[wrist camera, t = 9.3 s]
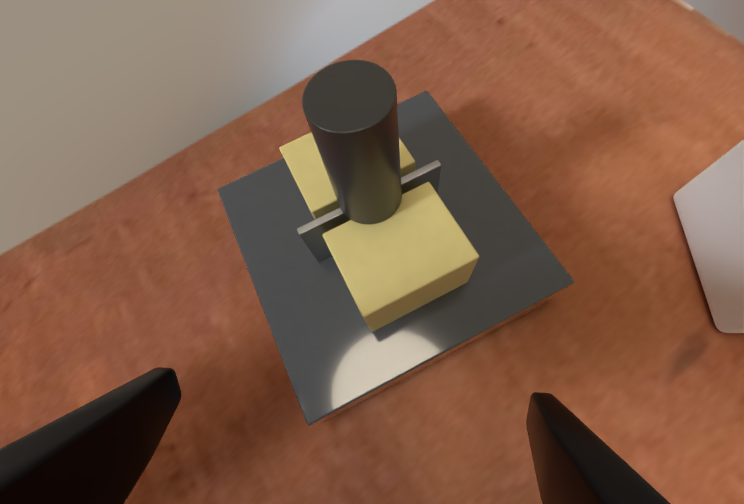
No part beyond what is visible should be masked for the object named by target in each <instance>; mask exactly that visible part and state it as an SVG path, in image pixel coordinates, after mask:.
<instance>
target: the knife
mask: <svg viewBox="0 0 744 504" xmlns="http://www.w3.org/2000/svg"><path fill="white" fill-rule="evenodd" d="M302 107H303V111H304V114H305V116H306V119H307V122H308V124H309V127H310V130H311V132H312V135H313V137H314V140H315V143H316V145H317V148H318V151H319V153H320V156H321V159H322V161H323V164H324V166H325V169H326V172H327V174H328V177H329V180H330V182H331V185H332V188H333V190H334V193H335V195H336V198H337V201H338V203H339V206H340V208H338V209H336V210H334V211H332V212H330V213H328V214H326V215H324V216H322V217H320V218H317V219H315V220H313V221H311V222H309V223H307V224H305V225H303V226H301V227H299V228H297V231H298V233H299V235H300V237H301V238H302V240H303V241H304V242H305V244H306V245H307V247H308V248H309V250H310V251H311V253H312V254H313V255H314V257H315V258H316V260H317V261H318V262H320V261H322V260H324V259H326V258H328V257H330V256H332V254H331V252H330V250H329V248H328V246H327V244H326V242H325V240H324V238H323V234H324V233H325V232H327V231H329V230H331V229H333V228H335V227H338V226H340V225H342V224H344V223H346V222H348V221H350V220H352V221H354V222H357V223H360V224H376V223H380V222H382V221H385V220H386V219H388V218H389V217H391V216H392V215H393V214H394V213H395V212H396V210H397V209H398V207H399V205H400V203H401V199H402V194H404V193H406V192H408V191H410V190H412V189H414V188H416V187H419V186H421V185H423V184H425V183H427V182H429V183H430V184H431V185H432V187H433V188H434V190H435V191H436V193H437V194H438V188H439V180H440V172H441V164H440V162H439V161H438V160H436V161H434V162H432V163H430V164H428V165H426V166H424V167H422V168H420V169H418V170H416V171H413V172H411V173H409V174H407V175H405V176H403V177H401V168H400V149H399V130H398V111H397V92H396V85H395V83H394V80H393V79H392V77H391V75H390V74H389V73H388V72H387V71H386V70H385V69H384V68H382V67H380V66H379V65H377V64H375V63H372V62H368V61H364V60H346V61H341V62H337V63H334V64H332V65H329V66H327V67H325V68H324V69H322V70H321V71H319V72H318V73H317V74H315V75H314V76H313V77H312V78H311V80H310V81H309V82H308V84H307V86H306V88H305V90H304V93H303V97H302Z"/></svg>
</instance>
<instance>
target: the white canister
mask: <svg viewBox="0 0 744 504" xmlns="http://www.w3.org/2000/svg"><path fill="white" fill-rule="evenodd" d="M673 200H674V203H675V206H676V209H677V212H678V215H679V218H680V221H681V224H682V227H683V230H684V233H685V236H686V239H687V242H688V245H689V248H690V251H691V254H692V257H693V260H694V263H695V266H696V269H697V272H698V275H699V278H700V281H701V284H702V287H703V290H704V293H705V296H706V299H707V302H708V305H709V308H710V311H711V314H712V317H713V320H714V323H715V326H716V327H717V329H718V330H720V331H721V332H725V333H744V139H743V140H742V141H741V142H739V143H738V144H737V145H736V146H734V147H733V148H732V149H731V150H729V151H728V152H727V153H725V154H724V155H723V156H722V157H720V158H719V159H718V160H716V161H715V162H714V163H713V164H711V165H710V166H709V167H708V168H706V169H705V170H704V171H702V172H701V173H700V174H699V175H697V176H696V177H695V178H693V179H692V180H691V181H690V182H688V183H687V184H686V185H684V186H683V187H682V188H681V189H679V190H678V191H677V192H676V193H675V194H674V196H673Z"/></svg>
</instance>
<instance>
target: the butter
mask: <svg viewBox="0 0 744 504" xmlns="http://www.w3.org/2000/svg"><path fill="white" fill-rule="evenodd" d="M399 149H400V168H401V177H403V176H405V175H407V174H409V173H411V172H413V171H415V160H414V159H413V157H412V156H411V154H410V153H409V151H408V150H407V148H406V147H405V145H404V144H403V142H402V141H401V139H400V138H399ZM280 151H281V153H282V155H283V157H284V159H285V161H286V163H287V165H288V167H289V169H290V171H291V173H292V175H293V177H294V179H295V181H296V183H297V185H298V187H299V189H300V191H301V193H302V195H303V197H304V199H305V201H306V203H307V206H308V208H309V210H310V212H311V213H312V215H313V217H314V219H317V218H320V217H322V216H324V215H326V214H328V213H330V212H332V211H334V210H336V209H338V208H340V206H339V203H338V201H337V198H336V195H335V193H334V190H333V188H332V185H331V182H330V180H329V177H328V174H327V172H326V169H325V166H324V164H323V161H322V159H321V156H320V153H319V151H318V148H317V145H316V143H315V140H314V137H313V135H312V132H311V133H309V134H307V135H304V136H302V137H300V138H298V139H296V140H294V141H292V142H289V143H287V144H285V145H283V146H281V147H280ZM323 238H324V240H325V242H326V244H327V246H328V248H329V250H330V252H331V254H332V256H333V258H334V260H335V262H336V264H337V266H338V268H339V270H340V272H341V274H342V276H343V278H344V280H345V282H346V284H347V286H348V288H349V290H350V292H351V295H352V297H353V299H354V301H355V303H356V305H357V307H358V309H359V311H360V313H361V315H362V317H363V318H364V320H365V322H366V323H367V325H368V326H369V328H370V330H371V331H376V330H377V329H379V328H381V327H383V326H385V325H387V324H389V323H391V322H393V321H395V320H396V319H398V318H400V317H402V316H404V315H406V314H408V313H410V312H412V311H414V310H416V309H417V308H419V307H421V306H423V305H425V304H427V303H429V302H431V301H433V300H435V299H437V298H438V297H440V296H442V295H444V294H446V293H448V292H450V291H452V290H454V289H456V288H458V287H459V286H461V285H463V284H465V283H467V282H468V280H469V278H470V276H471V274H472V271H473V269H474V267H475V265H476V263H477V261H478V259H479V255H478V253H477V252H476V250H475V249H474V247H473V246H472V244H471V243H470V241H469V240H468V238H467V237H466V235H465V234H464V232H463V231H462V229H461V228H460V226H459V225H458V224H457V222H456V221H455V219H454V218H453V216H452V215H451V213H450V212H449V210H448V209H447V207H446V206H445V204H444V203H443V201H442V200H441V198H440V197H439V196H438V194H437V193H436V191H435V190H434V188H433V187H432V185H431V184H430V183H429V182H427V183H425V184H423V185H421V186H419V187H416V188H414V189H412V190H410V191H408V192H406V193H404V194H402V199H401V203H400V205H399V207H398V209H397V210H396V212H395V213H394V214H393V215H392V216H391V217H389V218H388V219H386V220H385V221H382V222H380V223H376V224H360V223H357V222H354V221H352V220H350V221H348V222H346V223H344V224H342V225H340V226H338V227H335V228H333V229H331V230H329V231H327V232H325V233H324V234H323Z"/></svg>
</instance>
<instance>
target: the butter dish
mask: <svg viewBox="0 0 744 504" xmlns="http://www.w3.org/2000/svg"><path fill="white" fill-rule="evenodd" d="M397 111H398V130H399V138H400V139H401V141H402V142H403V144H404V145H405V147H406V148H407V150H408V151H409V153H410V154H411V156H412V157H413V159H414V160H415V171H416V170H418V169H420V168H422V167H424V166H426V165H428V164H430V163H432V162H434V161H436V160H438V161H439V162H440V164H441V172H440V180H439V188H438V196H439V197H440V198H441V200H442V201H443V203H444V204H445V206H446V207H447V209H448V210H449V212H450V213H451V215H452V216H453V218H454V219H455V221H456V222H457V224H458V225H459V226H460V228H461V229H462V231H463V232H464V234H465V235H466V237H467V238H468V240H469V241H470V243H471V244H472V246H473V247H474V249H475V250H476V252H477V253H478V255H479V259H478V261H477V263H476V265H475V267H474V269H473V271H472V274H471V276H470V278H469V280H468V282H467V283H465V284H463V285H461V286H459V287H458V288H456V289H454V290H452V291H450V292H448V293H446V294H444V295H442V296H440V297H438V298H437V299H435V300H433V301H431V302H429V303H427V304H425V305H423V306H421V307H419V308H417V309H416V310H414V311H412V312H410V313H408V314H406V315H404V316H402V317H400V318H398V319H396V320H395V321H393V322H391V323H389V324H387V325H385V326H383V327H381V328H379V329H377V330H376V331H371V330H370V328H369V326H368V325H367V323H366V322H365V320H364V318H363V317H362V315H361V313H360V311H359V309H358V307H357V305H356V303H355V301H354V299H353V297H352V295H351V292H350V290H349V288H348V286H347V284H346V282H345V280H344V278H343V276H342V274H341V272H340V270H339V268H338V266H337V264H336V262H335V260H334V258H333V256H330V257H328V258H326V259H324V260H322V261H320V262H318V261H317V260H316V258H315V257H314V255H313V254H312V253H311V251H310V250H309V248H308V247H307V245H306V244H305V242H304V241H303V240H302V238H301V237H300V235H299V233H298V231H297V228H299V227H301V226H303V225H305V224H307V223H309V222H311V221H313V220H315V219H314V217H313V215H312V213H311V212H310V210H309V208H308V206H307V203H306V201H305V199H304V197H303V195H302V193H301V191H300V189H299V187H298V185H297V183H296V181H295V179H294V177H293V175H292V173H291V171H290V169H289V167H288V165H287V163H286V161H285V159H284V158H282V159H280V160H278V161H276V162H273V163H271V164H269V165H267V166H265V167H263V168H261V169H259V170H256V171H254V172H252V173H250V174H248V175H246V176H244V177H242V178H239V179H237V180H235V181H233V182H231V183H229V184H227V185H225V186H222V187H220V188H218V193H219V195H220V198H221V201H222V203H223V206H224V208H225V211H226V214H227V216H228V219H229V221H230V224H231V227H232V229H233V232H234V235H235V237H236V240H237V242H238V245H239V248H240V250H241V253H242V256H243V258H244V261H245V263H246V266H247V269H248V271H249V274H250V276H251V279H252V282H253V284H254V287H255V290H256V292H257V295H258V297H259V300H260V303H261V305H262V308H263V310H264V313H265V316H266V318H267V321H268V324H269V326H270V329H271V331H272V334H273V337H274V339H275V342H276V344H277V347H278V350H279V352H280V355H281V358H282V360H283V363H284V365H285V368H286V371H287V373H288V376H289V379H290V381H291V384H292V386H293V389H294V392H295V394H296V397H297V399H298V402H299V405H300V407H301V410H302V413H303V415H304V418H305V420H306V423H307V425H313V424H317V423H321V422H325V421H327V420H329V419H331V418H333V417H335V416H337V415H339V414H340V413H342V412H344V411H346V410H348V409H350V408H351V407H353V406H355V405H357V404H359V403H361V402H363V401H364V400H366V399H368V398H370V397H372V396H374V395H376V394H377V393H379V392H381V391H383V390H385V389H387V388H388V387H390V386H392V385H394V384H396V383H398V382H400V381H401V380H403V379H405V378H407V377H409V376H411V375H413V374H414V373H416V372H418V371H420V370H422V369H424V368H426V367H427V366H429V365H431V364H433V363H435V362H437V361H438V360H440V359H442V358H444V357H446V356H448V355H450V354H451V353H453V352H455V351H457V350H459V349H461V348H463V347H464V346H466V345H468V344H470V343H472V342H474V341H475V340H477V339H479V338H481V337H483V336H485V335H487V334H488V333H490V332H492V331H494V330H496V329H498V328H500V327H501V326H503V325H505V324H507V323H509V322H511V321H512V320H514V319H516V318H518V317H520V316H522V315H524V314H525V313H527V312H529V311H531V310H533V309H535V308H537V307H538V306H540V305H542V304H544V303H546V302H548V301H549V300H551V299H552V298H554V297H555V296H556V295H558V294H559V293H561V292H562V291H563V290H565V289H566V288H568V287H569V286H570V285H572V284H573V283H574V280H573V279H572V277H571V276H570V275H569V274H568V272H567V271H566V270H565V268H564V267H563V266H562V265H561V263H560V262H559V261H558V259H557V258H556V257H555V255H554V254H553V253H552V252H551V250H550V249H549V248H548V246H547V245H546V244H545V243H544V241H543V240H542V239H541V237H540V236H539V235H538V233H537V232H536V231H535V230H534V228H533V227H532V226H531V224H530V223H529V222H528V220H527V219H526V218H525V217H524V215H523V214H522V213H521V211H520V210H519V209H518V208H517V206H516V205H515V204H514V202H513V201H512V200H511V198H510V197H509V196H508V195H507V193H506V192H505V191H504V189H503V188H502V187H501V186H500V184H499V183H498V182H497V180H496V179H495V178H494V176H493V175H492V174H491V173H490V171H489V170H488V169H487V167H486V166H485V165H484V164H483V162H482V161H481V160H480V158H479V157H478V156H477V154H476V153H475V152H474V151H473V149H472V148H471V147H470V145H469V144H468V143H467V142H466V140H465V139H464V138H463V136H462V135H461V134H460V132H459V131H458V130H457V129H456V127H455V126H454V125H453V123H452V122H451V121H450V120H449V118H448V117H447V116H446V114H445V113H444V112H443V110H442V109H441V108H440V107H439V105H438V104H437V103H436V101H435V100H434V99H433V98H432V96H431V95H430V94H429V92H428V91H424V92H422V93H420V94H418V95H416V96H414V97H412V98H409V99H407V100H405V101H403V102H401V103H399V104H397Z"/></svg>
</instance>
